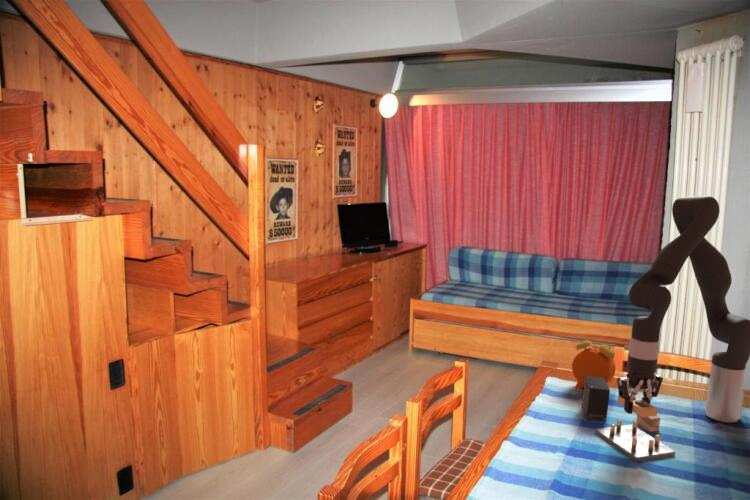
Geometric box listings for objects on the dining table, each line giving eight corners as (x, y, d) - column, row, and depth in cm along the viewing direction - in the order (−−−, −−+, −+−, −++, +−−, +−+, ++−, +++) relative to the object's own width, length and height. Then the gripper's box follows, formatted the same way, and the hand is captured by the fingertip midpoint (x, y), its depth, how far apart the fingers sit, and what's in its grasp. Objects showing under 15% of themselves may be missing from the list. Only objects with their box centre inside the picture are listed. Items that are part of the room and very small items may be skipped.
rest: (644, 421, 184) (645, 409, 183) (658, 430, 178) (660, 418, 178) (636, 422, 183) (637, 410, 183) (650, 431, 178) (652, 419, 177)
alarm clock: (613, 392, 207) (619, 337, 203) (607, 397, 202) (613, 340, 199) (576, 381, 215) (581, 328, 212) (569, 386, 211) (574, 332, 207)
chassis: (631, 427, 180) (632, 414, 179) (674, 455, 164) (676, 441, 163) (595, 432, 176) (596, 419, 175) (636, 461, 160) (637, 447, 159)
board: (631, 400, 174) (632, 392, 173) (656, 415, 164) (658, 406, 164) (617, 402, 172) (618, 393, 172) (642, 417, 163) (643, 408, 162)
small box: (607, 422, 183) (611, 389, 182) (585, 419, 185) (588, 387, 183) (602, 407, 194) (605, 377, 192) (581, 405, 195) (584, 375, 193)
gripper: (654, 348, 171) (647, 404, 174) (612, 351, 167) (606, 408, 170) (674, 357, 164) (666, 415, 167) (631, 360, 160) (624, 420, 163)
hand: (636, 411), depth 168 cm, fingers closed on board, 5 cm apart
